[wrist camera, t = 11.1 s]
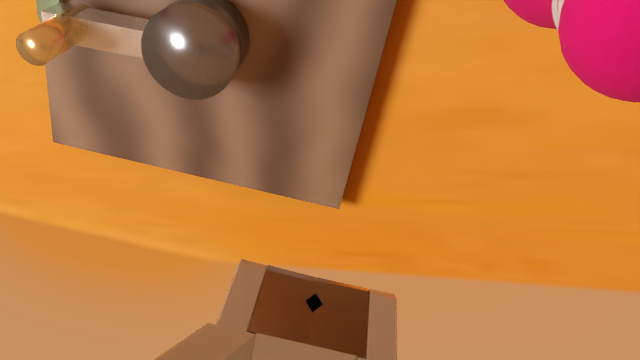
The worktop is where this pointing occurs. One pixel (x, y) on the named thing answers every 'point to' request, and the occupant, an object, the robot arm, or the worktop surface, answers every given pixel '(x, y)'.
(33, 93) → the worktop surface
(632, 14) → the pepper mill
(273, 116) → the wooden board
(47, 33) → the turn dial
